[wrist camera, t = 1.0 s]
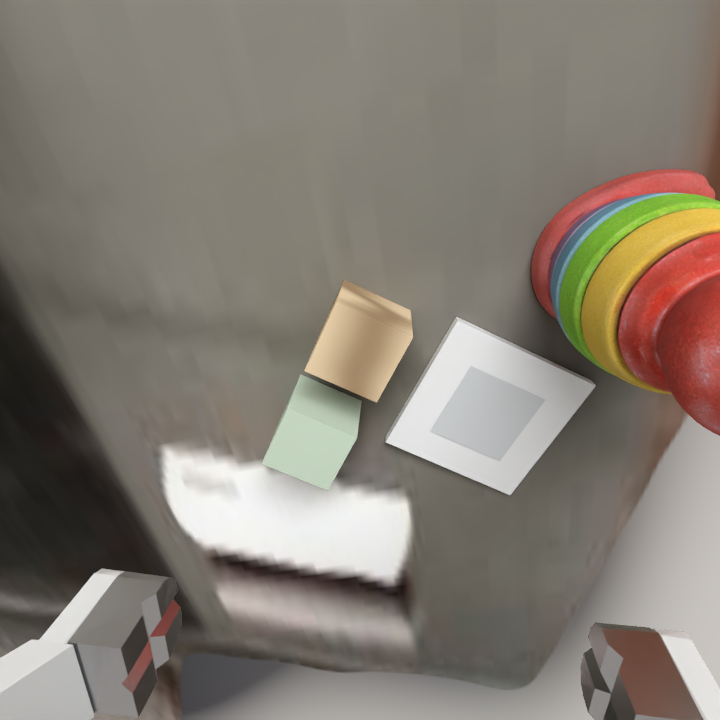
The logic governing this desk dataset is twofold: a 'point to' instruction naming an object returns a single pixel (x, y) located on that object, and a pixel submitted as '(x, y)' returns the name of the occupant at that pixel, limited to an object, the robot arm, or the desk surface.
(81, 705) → the robot arm
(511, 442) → the plate
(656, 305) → the stacking bear
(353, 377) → the oak block
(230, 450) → the desk surface
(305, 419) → the sage block
